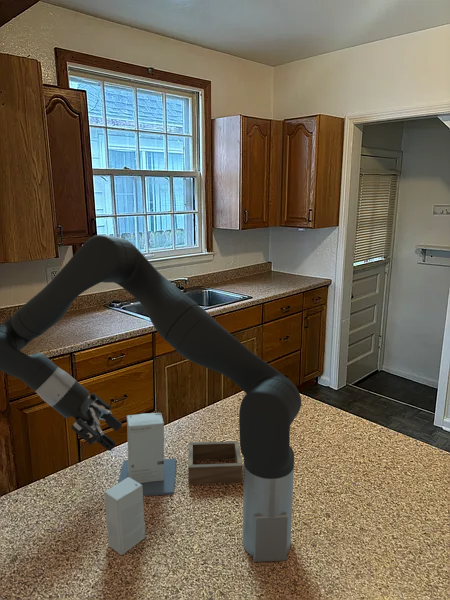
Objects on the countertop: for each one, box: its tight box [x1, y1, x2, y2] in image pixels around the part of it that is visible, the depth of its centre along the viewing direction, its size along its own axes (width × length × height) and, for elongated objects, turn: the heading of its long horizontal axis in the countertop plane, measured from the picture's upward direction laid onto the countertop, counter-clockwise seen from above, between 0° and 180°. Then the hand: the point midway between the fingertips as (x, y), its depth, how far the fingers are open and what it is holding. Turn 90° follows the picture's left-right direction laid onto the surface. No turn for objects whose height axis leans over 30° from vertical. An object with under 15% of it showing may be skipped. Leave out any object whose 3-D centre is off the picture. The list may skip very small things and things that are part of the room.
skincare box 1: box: [103, 477, 146, 556], centre depth 86 cm, size 6×4×12 cm
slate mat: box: [117, 458, 177, 497], centre depth 106 cm, size 13×13×1 cm
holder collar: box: [187, 440, 244, 486], centre depth 109 cm, size 10×12×4 cm
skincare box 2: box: [126, 412, 165, 484], centre depth 105 cm, size 8×6×15 cm
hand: (116, 437), depth 104 cm, fingers open, 8 cm apart
